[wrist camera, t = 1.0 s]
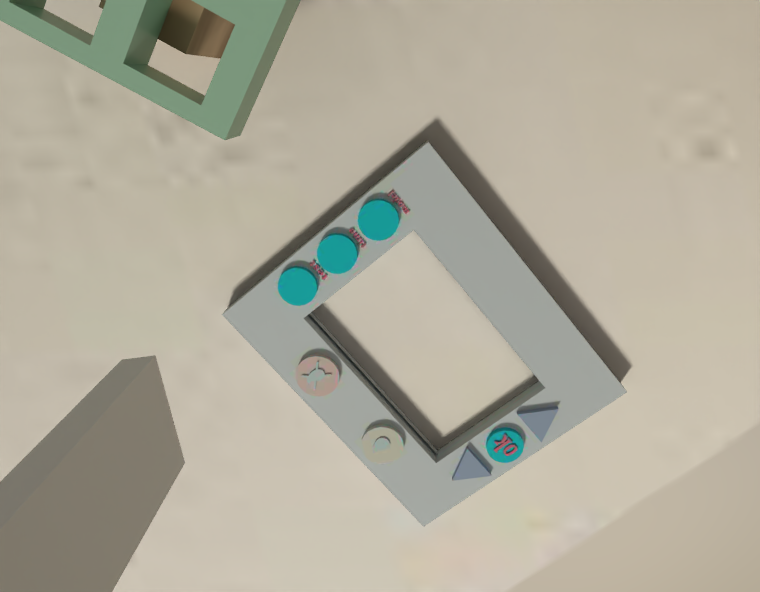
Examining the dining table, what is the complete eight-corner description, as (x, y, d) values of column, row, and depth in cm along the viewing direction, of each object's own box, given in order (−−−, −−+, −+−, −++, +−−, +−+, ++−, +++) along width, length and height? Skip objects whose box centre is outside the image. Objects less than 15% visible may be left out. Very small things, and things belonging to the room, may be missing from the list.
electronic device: (629, 395, 37) (423, 531, 40) (617, 378, 39) (423, 508, 42) (428, 142, 33) (219, 317, 36) (427, 139, 35) (230, 304, 38)
